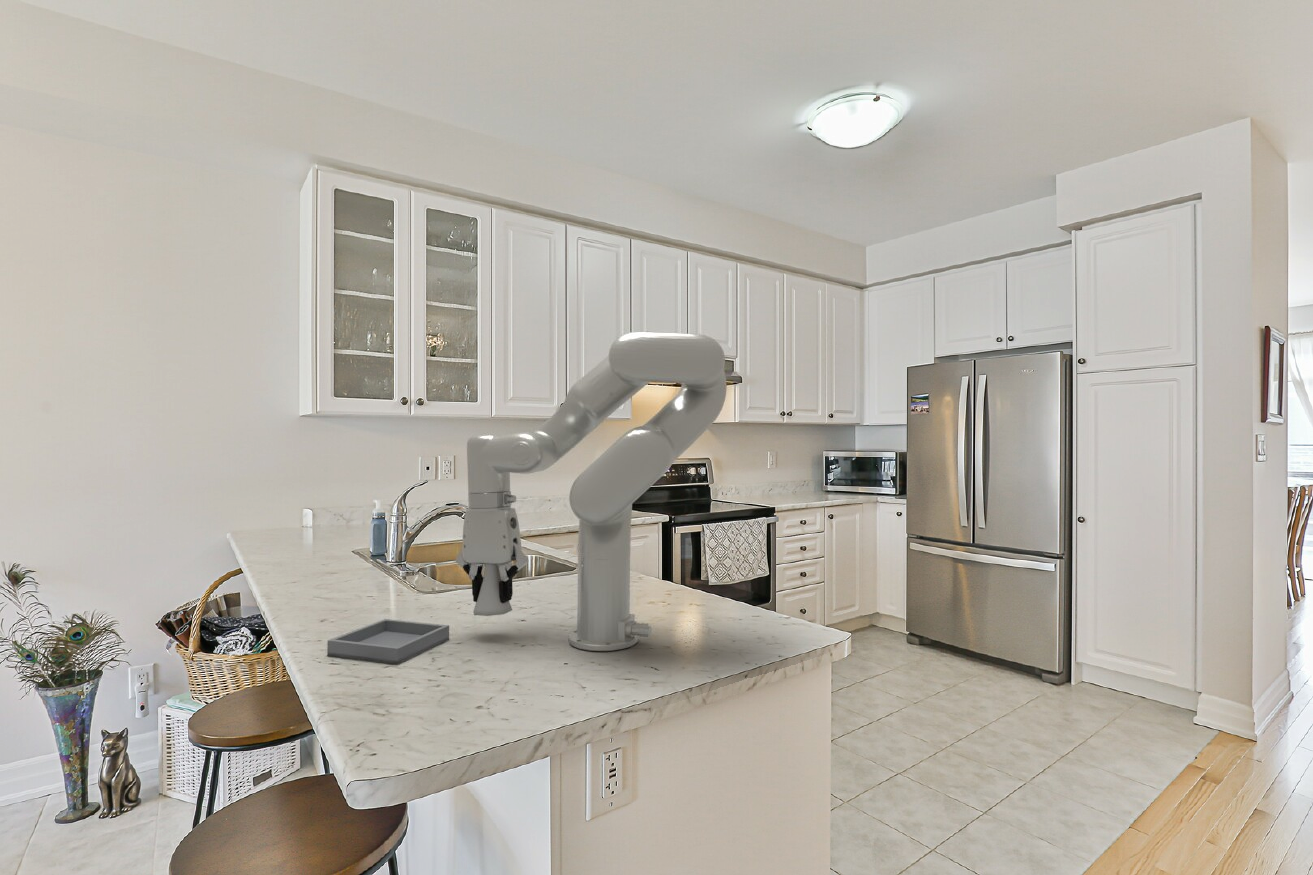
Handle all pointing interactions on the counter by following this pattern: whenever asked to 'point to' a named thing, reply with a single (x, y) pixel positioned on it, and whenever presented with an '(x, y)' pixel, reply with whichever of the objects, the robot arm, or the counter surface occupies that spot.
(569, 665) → the counter surface
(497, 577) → the flask
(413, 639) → the tray
